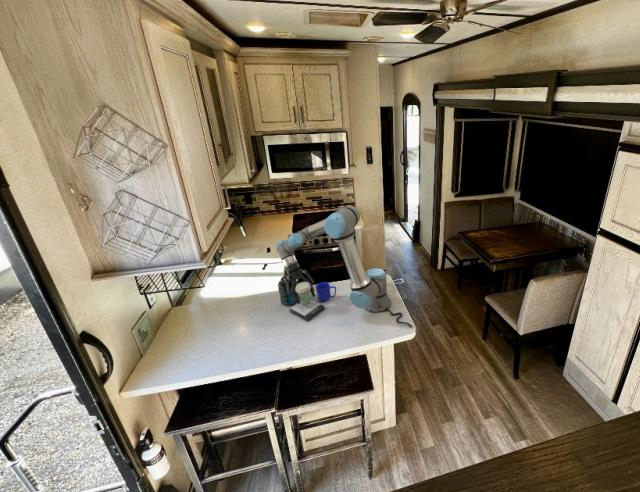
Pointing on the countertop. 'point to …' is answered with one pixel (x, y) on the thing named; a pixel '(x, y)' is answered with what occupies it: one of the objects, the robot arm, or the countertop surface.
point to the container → (286, 292)
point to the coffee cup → (303, 293)
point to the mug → (324, 291)
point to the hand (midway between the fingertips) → (307, 300)
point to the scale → (307, 310)
